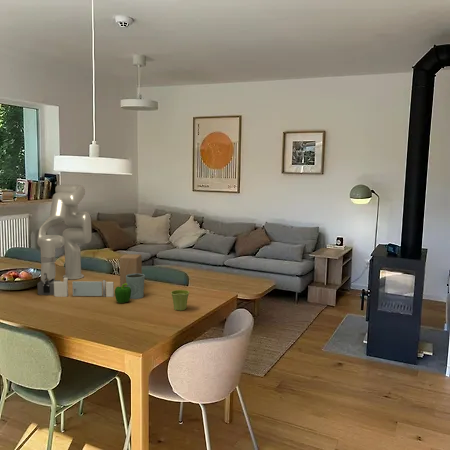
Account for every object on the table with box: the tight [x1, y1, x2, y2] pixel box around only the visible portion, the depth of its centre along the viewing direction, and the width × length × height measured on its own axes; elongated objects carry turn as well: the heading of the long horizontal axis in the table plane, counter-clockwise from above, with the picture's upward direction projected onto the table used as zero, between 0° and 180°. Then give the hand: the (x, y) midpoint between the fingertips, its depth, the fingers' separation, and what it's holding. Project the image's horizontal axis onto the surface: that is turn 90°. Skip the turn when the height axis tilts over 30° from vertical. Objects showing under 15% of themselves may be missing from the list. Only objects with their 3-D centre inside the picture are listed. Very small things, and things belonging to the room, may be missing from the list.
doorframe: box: [53, 278, 115, 298], centre depth 243 cm, size 2×32×10 cm, turn 91°
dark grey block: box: [37, 279, 62, 296], centre depth 249 cm, size 7×10×6 cm
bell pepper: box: [114, 284, 131, 304], centre depth 234 cm, size 8×8×10 cm
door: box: [71, 280, 103, 297], centre depth 243 cm, size 16×2×8 cm, turn 91°
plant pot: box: [170, 289, 190, 312], centre depth 224 cm, size 9×9×9 cm
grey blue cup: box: [126, 273, 146, 300], centre depth 244 cm, size 10×10×12 cm
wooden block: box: [119, 253, 143, 287], centre depth 257 cm, size 10×10×20 cm
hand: (49, 290), depth 249 cm, fingers closed on dark grey block, 7 cm apart
